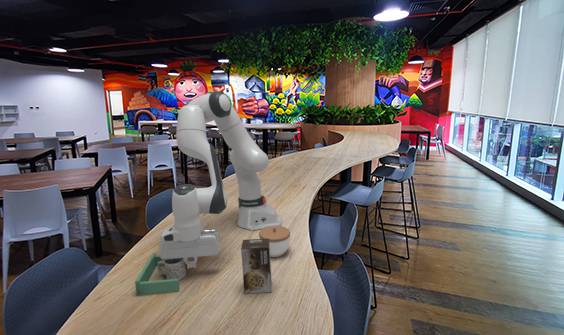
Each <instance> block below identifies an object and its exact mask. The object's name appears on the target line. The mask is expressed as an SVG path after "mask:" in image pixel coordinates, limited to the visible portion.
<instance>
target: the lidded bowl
mask: <svg viewBox="0 0 564 335" xmlns="http://www.w3.org/2000/svg"><path fill="white" fill-rule="evenodd" d="M258 237H259V238H258V239H268V238H269V242H270V258H279V257H282V256H283V255H284V253H286V251H287V250H288V248H289V246H290V241H291V231H290V229H289V228H287V227H285V226H281V225H280V226H269V227H265V228H263V229H259V232H258Z"/></svg>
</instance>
